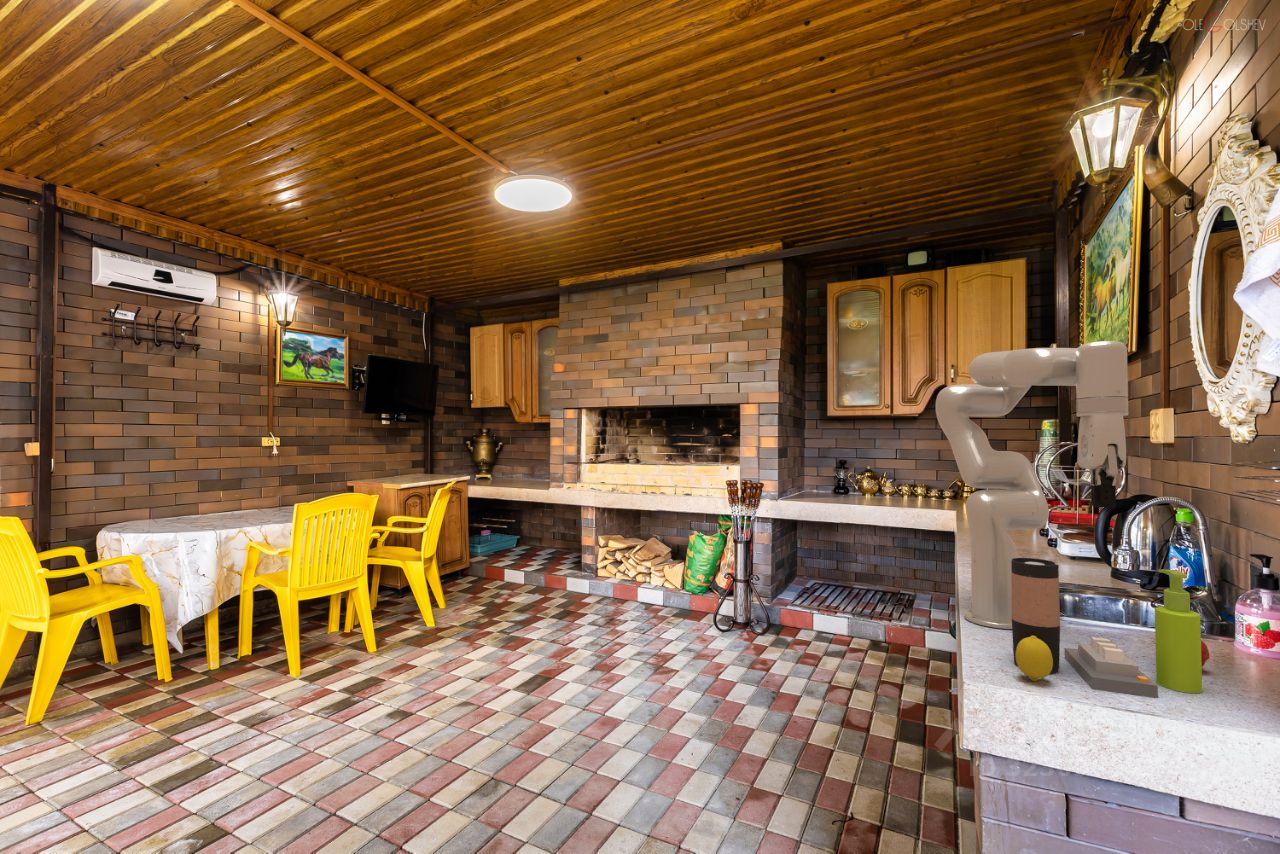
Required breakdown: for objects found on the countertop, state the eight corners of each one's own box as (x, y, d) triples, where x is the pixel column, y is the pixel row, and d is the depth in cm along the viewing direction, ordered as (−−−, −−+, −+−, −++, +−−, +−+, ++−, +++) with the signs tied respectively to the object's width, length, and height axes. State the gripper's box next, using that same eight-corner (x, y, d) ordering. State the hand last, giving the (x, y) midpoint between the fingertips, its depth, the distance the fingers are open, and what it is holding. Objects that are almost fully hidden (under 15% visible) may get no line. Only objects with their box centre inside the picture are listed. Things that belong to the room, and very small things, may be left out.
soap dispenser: (1186, 679, 104) (1183, 568, 105) (1210, 695, 97) (1207, 576, 98) (1146, 675, 106) (1143, 566, 106) (1167, 690, 99) (1165, 574, 100)
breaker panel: (1064, 657, 114) (1064, 628, 115) (1120, 664, 111) (1120, 634, 111) (1092, 688, 100) (1091, 655, 100) (1158, 697, 96) (1157, 662, 96)
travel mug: (1003, 662, 112) (1001, 559, 112) (1028, 657, 115) (1027, 556, 115) (1044, 677, 104) (1042, 566, 105) (1070, 671, 108) (1068, 563, 108)
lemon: (1059, 688, 100) (1058, 642, 100) (1024, 685, 101) (1023, 639, 101) (1043, 676, 105) (1043, 632, 105) (1010, 673, 106) (1009, 629, 106)
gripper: (1065, 411, 115) (1066, 502, 115) (1090, 406, 102) (1092, 510, 101) (1111, 410, 112) (1113, 504, 112) (1144, 405, 99) (1146, 512, 98)
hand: (1103, 506), depth 106 cm, fingers closed
